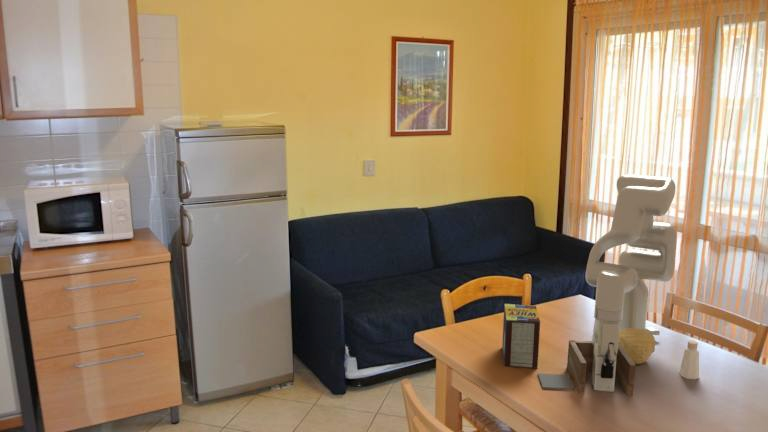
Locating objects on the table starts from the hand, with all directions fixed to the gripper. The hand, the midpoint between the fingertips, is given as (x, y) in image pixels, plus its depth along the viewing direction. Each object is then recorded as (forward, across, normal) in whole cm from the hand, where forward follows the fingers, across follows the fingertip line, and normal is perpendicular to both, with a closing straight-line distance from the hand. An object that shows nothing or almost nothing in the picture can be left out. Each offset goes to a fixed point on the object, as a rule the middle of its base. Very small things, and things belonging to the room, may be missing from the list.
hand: (603, 372), depth 179 cm
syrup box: (+5, 0, 0) cm, 5 cm away
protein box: (+5, -18, -22) cm, 29 cm away
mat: (+5, -1, -13) cm, 14 cm away
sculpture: (+5, -20, +14) cm, 25 cm away
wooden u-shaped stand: (+5, -3, 0) cm, 6 cm away
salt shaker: (+5, -10, +28) cm, 31 cm away
